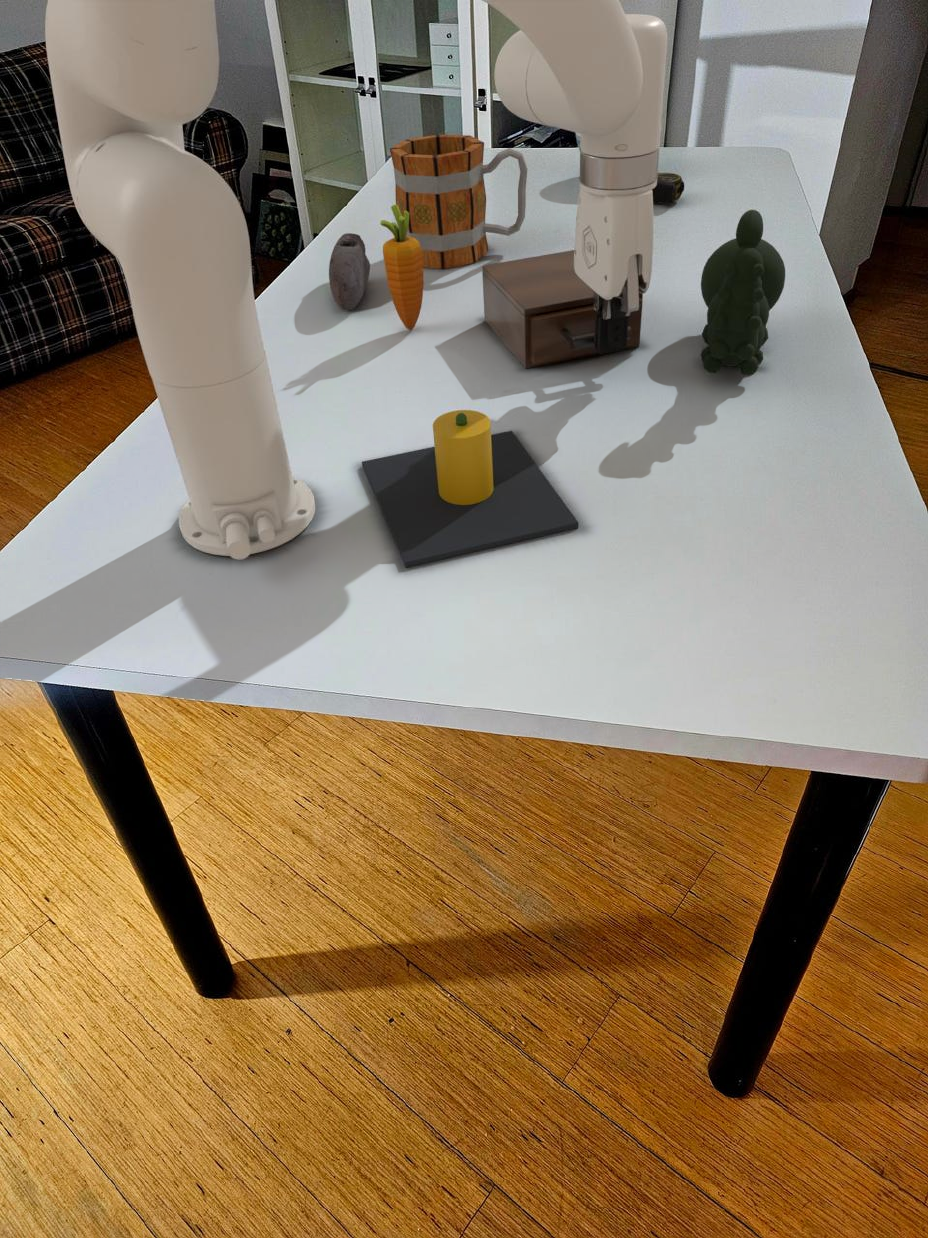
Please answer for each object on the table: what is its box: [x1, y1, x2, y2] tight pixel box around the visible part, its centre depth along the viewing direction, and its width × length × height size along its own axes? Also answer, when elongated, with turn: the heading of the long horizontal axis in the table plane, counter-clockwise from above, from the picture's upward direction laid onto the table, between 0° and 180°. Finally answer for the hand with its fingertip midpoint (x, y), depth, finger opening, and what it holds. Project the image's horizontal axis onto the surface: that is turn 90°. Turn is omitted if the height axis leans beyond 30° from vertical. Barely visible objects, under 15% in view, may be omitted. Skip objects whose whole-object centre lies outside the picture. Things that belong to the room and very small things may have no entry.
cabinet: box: [481, 249, 644, 369], centre depth 109 cm, size 16×15×7 cm
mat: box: [361, 430, 579, 568], centre depth 84 cm, size 18×16×1 cm
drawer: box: [530, 298, 643, 364], centre depth 106 cm, size 19×13×5 cm
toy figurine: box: [699, 209, 786, 376], centre depth 99 cm, size 9×19×25 cm
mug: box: [389, 134, 529, 270], centre depth 131 cm, size 20×14×15 cm
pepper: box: [432, 409, 493, 505], centre depth 81 cm, size 5×5×8 cm
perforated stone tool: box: [328, 232, 371, 312], centre depth 122 cm, size 15×5×7 cm, turn 178°
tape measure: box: [652, 172, 685, 205], centre depth 148 cm, size 7×7×4 cm
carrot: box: [379, 204, 425, 331], centre depth 110 cm, size 5×5×15 cm
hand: (610, 348), depth 98 cm, fingers closed
